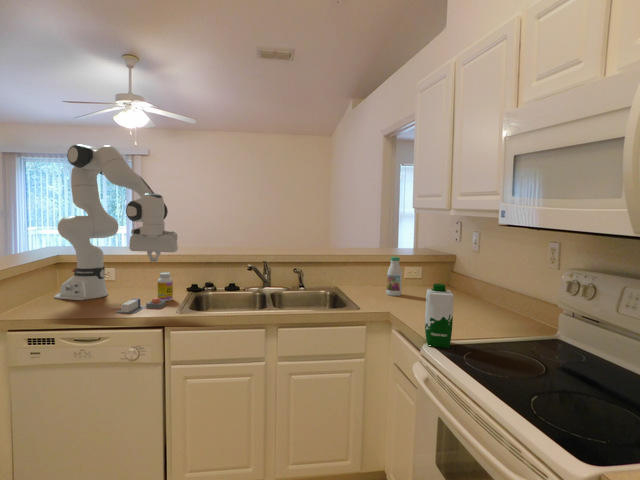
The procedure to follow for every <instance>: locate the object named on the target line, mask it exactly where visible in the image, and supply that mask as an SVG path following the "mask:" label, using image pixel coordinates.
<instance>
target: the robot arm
mask: <svg viewBox="0 0 640 480" xmlns="http://www.w3.org/2000/svg"><path fill="white" fill-rule="evenodd" d="M66 154H67V161H68V163H69V164H70V165H71V166H73V167H72V169H71V174H70V186H71V188H70V189H71V197H72V203H73V204H74V205H75V207H77V208H79V209H81V210H83V211H84V212H85V213H86V215H70V216H66V217H62V218H61V219H60V220H59V221H58V223H57V232H58V234H59V235H60V236H61V237H62V238H63V239H65V240H67V241H68V242H69V243H70V245H72V247H73V249H74V251H75V255H76V256H75V257H76V268H74V269H72V270H71V273H73V275H72V276H71V277H69V278H68V279H67V280H65V281H64V282H63V283H62V284H61V285H60V289H59V290H60V291H59V293H56V294H55V295H54V299H59V300H69V301H70V300H71V301H72V300H74V301H84V300H93V299H97V298H98V299H100V298H103V297H106V296H108V295H109V292H108V290H107V286H106V279H105V276H106V269H105V266H104V251H103V250H102V249H101V247H98V246H97V245H93V244H92V243H91V240H92V239H105V238H109V237H114V236H116V234H117V233H118V231H119V223H118V220H117V219H116V218H115V217H113V216H112V215H110V213H108V212H107V211H106V210H105V208H104V206H103V205H102V202H101V198H100V194H99V193H100V192H99V185H98V175H99V174H100V175H101V176H102V175H103V176H104V177H105V178H106V179H107V181H108V182H110V183H111V184H113V185H115V186H116V187H117V186H118V187H122V188H125V189H128V190H132V191H134V192H135V193H136V194H137V195H139V198H137V199H134V200H131V201H129V202H128V203H127V205H126V208H125V213H126V218H128V220H130V221H131V222H135V223H142V226H139V227H137V228H133V229H130V230H131V231H130V233H131V235H130V237H129V243H128V244H129V250H130V251H131V252H146V255H147V256H148V258H149V262H150V263H158V262H159V257H160V256H161V253H176V252H177V251H178V249H179V248H178V247H179V246H178V233H176V232H175V231H172V230H170V231H169V230H165V229H166V228H165V225H166V223H165V219H166V217H167V216H168V213H169V211H168V206H167V205H166V204H165V201H164V198H163V196H162V195H161V194H159V193H156V192H154V191H153V189H152V188H151V187H150V186H149V184H148V183H147V182H146V181H145V179H144V178H142V176H140V175H139V174H137V173H136V172H135V171H134V170H133V168H132V167H131V166H130V165H129V163H128V162H127V161H126V160H125V157H124V156H123V155H122V154H121V152H120V151H119V150H118V149H117V148H116V147H114V146H112V145H103V146H101V147H98V146H91V145H84V144H73V145H71V146H70V147H69V149H68V150H67V153H66ZM153 253H155V257H154V256H153V255H152V254H153Z"/></svg>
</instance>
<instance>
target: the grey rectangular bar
mask: <svg viewBox="0 0 640 480" xmlns="http://www.w3.org/2000/svg"><path fill="white" fill-rule="evenodd" d="M140 306H141V298H132V299H130V300H128V301H125V302H124V303H122V304H121V309H122V312H130V311H132V310H134V309H136V308H138V307H140Z"/></svg>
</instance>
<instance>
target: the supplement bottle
mask: <svg viewBox="0 0 640 480" xmlns="http://www.w3.org/2000/svg"><path fill="white" fill-rule="evenodd" d="M173 284H174V283H173V278H171V272H160V273H159V278H158V279H157V298H160V300H161V301H166V302H169V301H172V300H173V299H174V297H173V296H174V295H173V291H174V290H173V289H174V287H173Z"/></svg>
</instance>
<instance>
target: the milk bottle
mask: <svg viewBox="0 0 640 480" xmlns="http://www.w3.org/2000/svg"><path fill="white" fill-rule="evenodd" d="M402 272H403V271H402V268H401V265H400V257H399V256H391V257H390V265H389V267H388V269H387V273H386V274H387V276H386V295H388V296H391V297H399V296H400V297H401V295H402V290H403V289H402V287H403V285H402V282H403V273H402Z"/></svg>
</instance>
